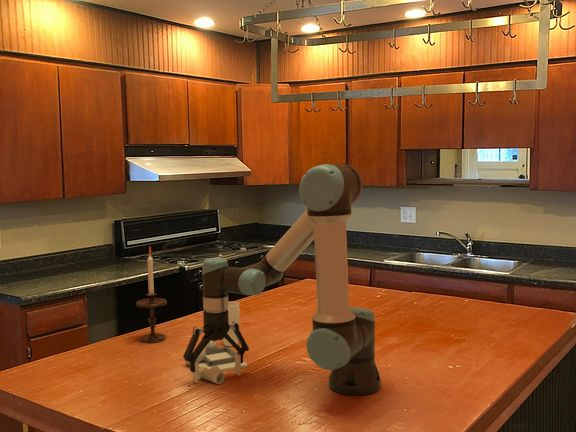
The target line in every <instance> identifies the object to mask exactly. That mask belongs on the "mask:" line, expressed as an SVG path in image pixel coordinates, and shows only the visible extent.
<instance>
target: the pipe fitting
mask: <svg viewBox="0 0 576 432" xmlns="http://www.w3.org/2000/svg"><path fill="white" fill-rule="evenodd" d="M198 379H200V380H205V381H207V382H211V383H214V384H217V385H221V384H223V382H224V381H225V373H223V372H220V368H219V367H217V366H213V367H211V368H210V369H208V368H205V367H201V368H200V369H199V368H198Z"/></svg>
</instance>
